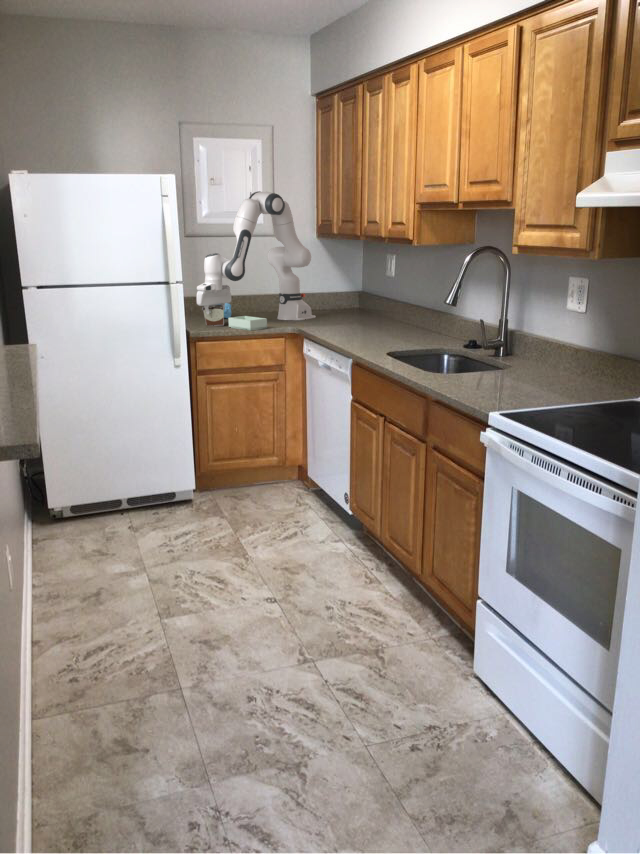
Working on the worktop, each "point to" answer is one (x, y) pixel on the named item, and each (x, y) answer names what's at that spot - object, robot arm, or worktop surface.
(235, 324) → the crate
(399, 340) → the worktop surface
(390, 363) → the worktop surface
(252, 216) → the robot arm
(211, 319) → the food container
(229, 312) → the teapot
